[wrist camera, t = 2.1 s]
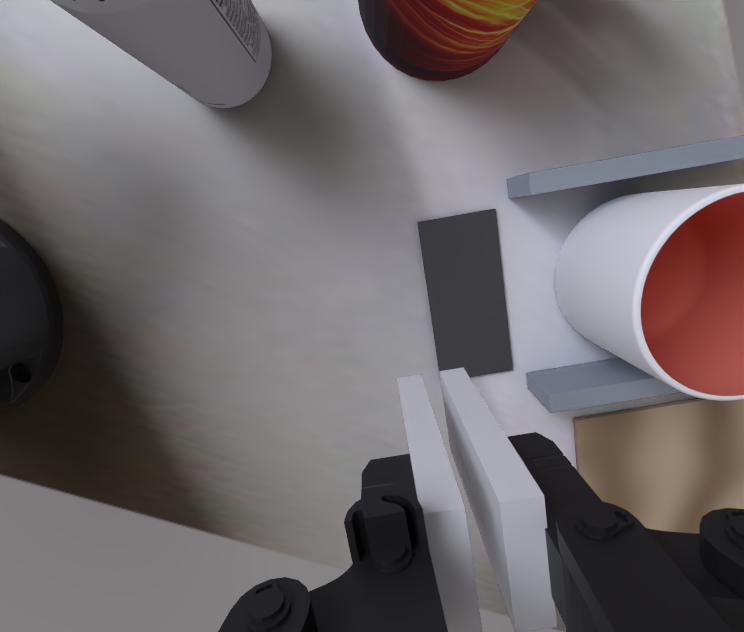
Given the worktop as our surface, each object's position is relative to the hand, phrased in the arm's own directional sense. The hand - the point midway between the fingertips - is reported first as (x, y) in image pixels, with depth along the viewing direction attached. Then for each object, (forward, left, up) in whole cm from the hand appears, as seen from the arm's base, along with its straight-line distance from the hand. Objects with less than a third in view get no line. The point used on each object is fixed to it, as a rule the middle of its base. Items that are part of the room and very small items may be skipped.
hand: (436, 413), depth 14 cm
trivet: (+20, -17, -16) cm, 31 cm away
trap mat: (+5, 0, -16) cm, 17 cm away
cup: (+15, 0, -17) cm, 22 cm away
